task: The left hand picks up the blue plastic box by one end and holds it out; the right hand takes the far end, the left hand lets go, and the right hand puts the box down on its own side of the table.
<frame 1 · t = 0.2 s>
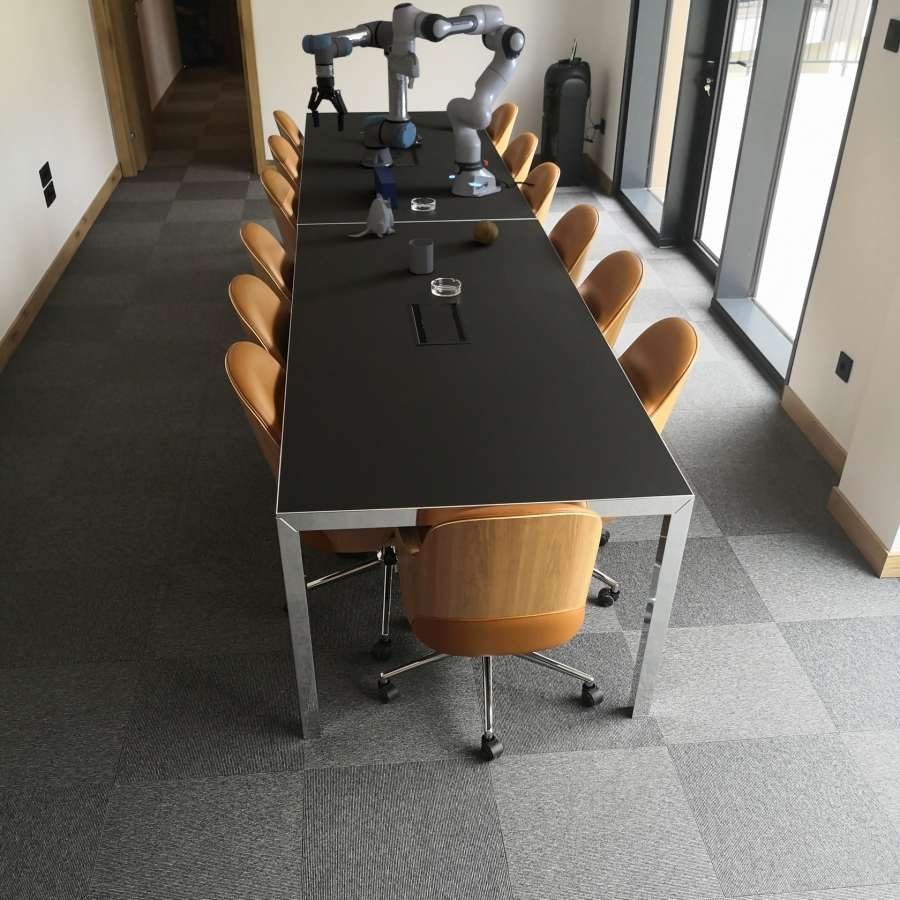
left hand: (328, 129, 373), 28 cm above the table, tool pointing down, fingers open, 13 cm apart
right hand: (405, 86, 350), 47 cm above the table, tool pointing down, fingers open, 8 cm apart
potato: (485, 243, 332), on the table
toy: (371, 237, 337), on the table
scepter: (386, 143, 466), on the table
box: (385, 199, 380), on the table
apple: (461, 130, 491), on the table
cup: (421, 270, 308), on the table
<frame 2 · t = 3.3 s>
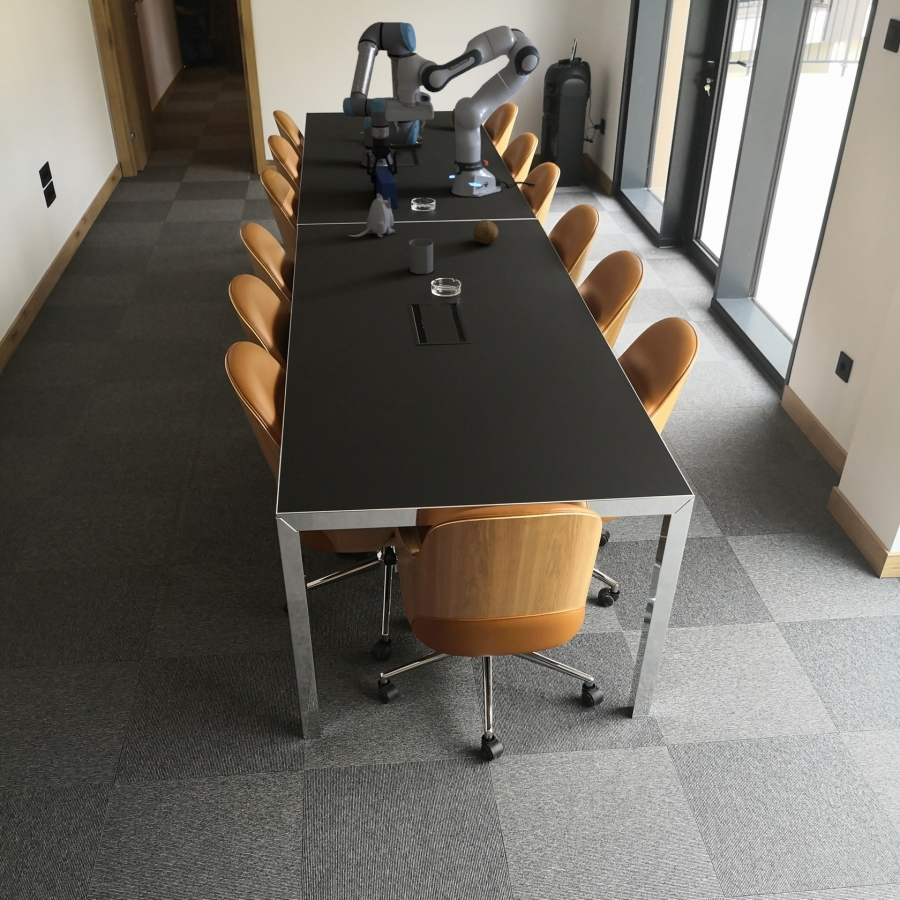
left hand: (382, 189, 388), 1 cm above the table, tool pointing down, fingers closed on box, 6 cm apart
right hand: (409, 131, 361), 29 cm above the table, tool pointing down, fingers open, 8 cm apart
box: (385, 199, 380), on the table, touching left hand
everything else where it was.
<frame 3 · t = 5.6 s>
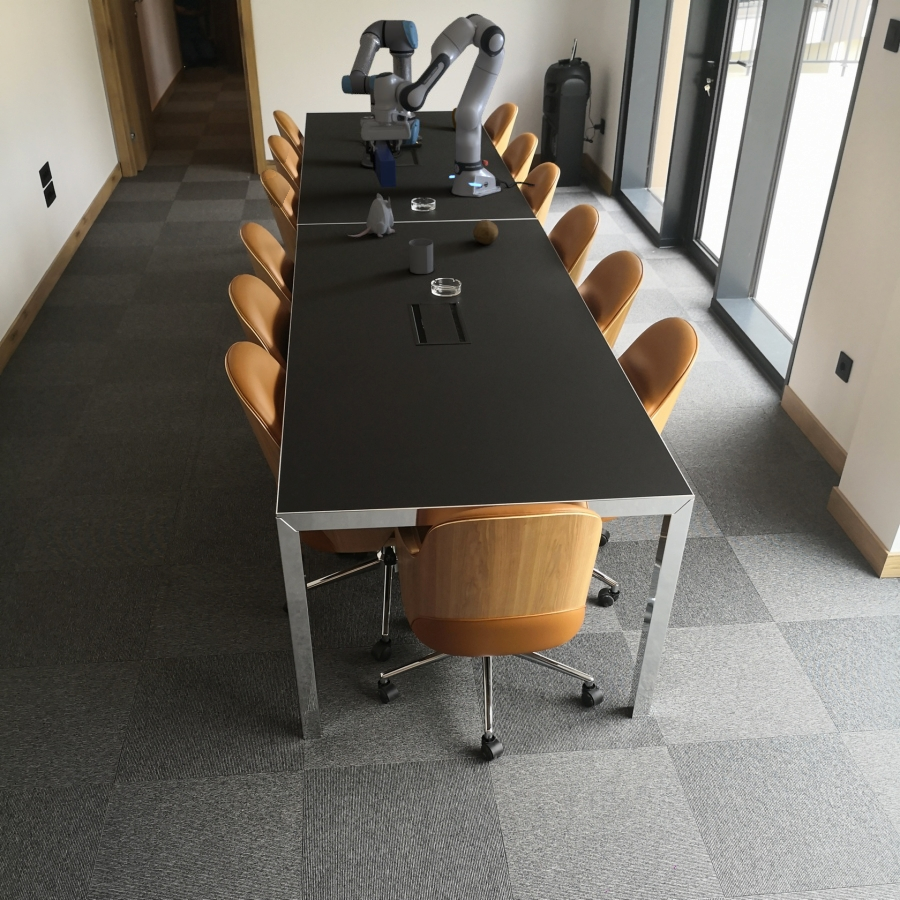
left hand: (381, 169, 383), 10 cm above the table, tool pointing down, fingers closed on box, 6 cm apart
right hand: (386, 150, 359), 23 cm above the table, tool pointing down, fingers open, 8 cm apart
box: (384, 178, 375), point 9 cm above the table, touching left hand
everything else where it was.
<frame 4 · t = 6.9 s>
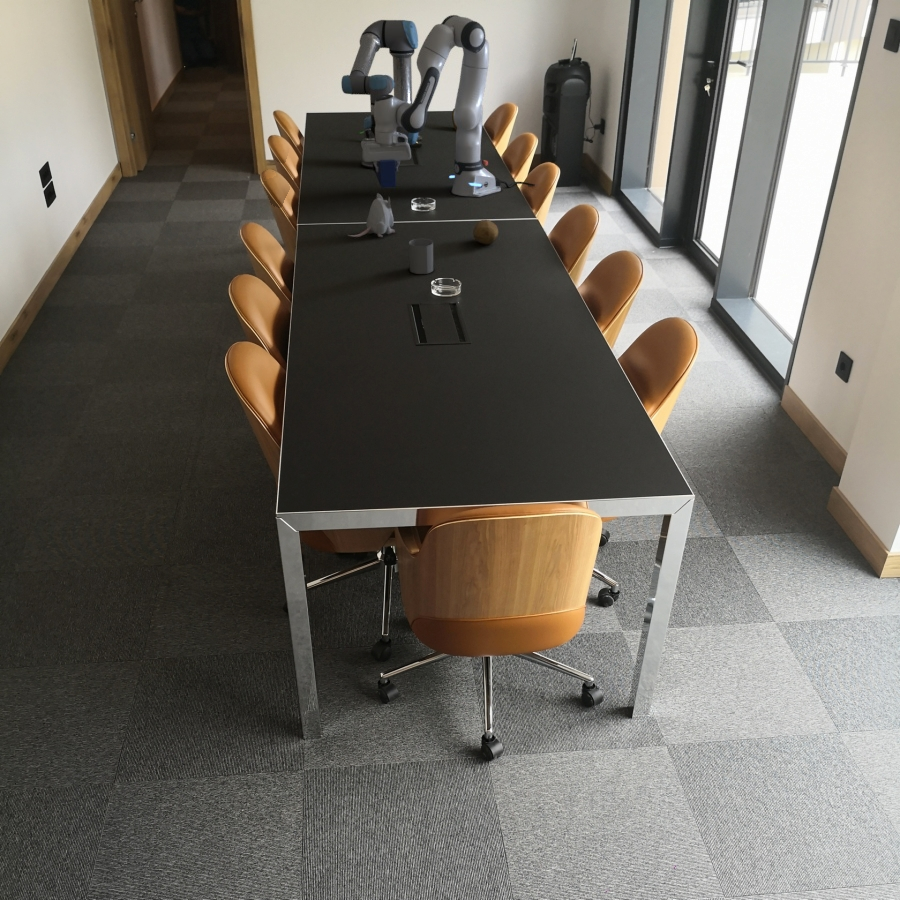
left hand: (381, 169, 383), 10 cm above the table, tool pointing down, fingers closed on box, 6 cm apart
right hand: (387, 171, 364), 15 cm above the table, tool pointing down, fingers closed on box, 6 cm apart
box: (384, 178, 375), point 9 cm above the table, touching left hand, right hand
everything else where it was.
when the left hand's fingers open (10 cm above the table, at t = 7.9 s): box stays where it is, held by the right hand.
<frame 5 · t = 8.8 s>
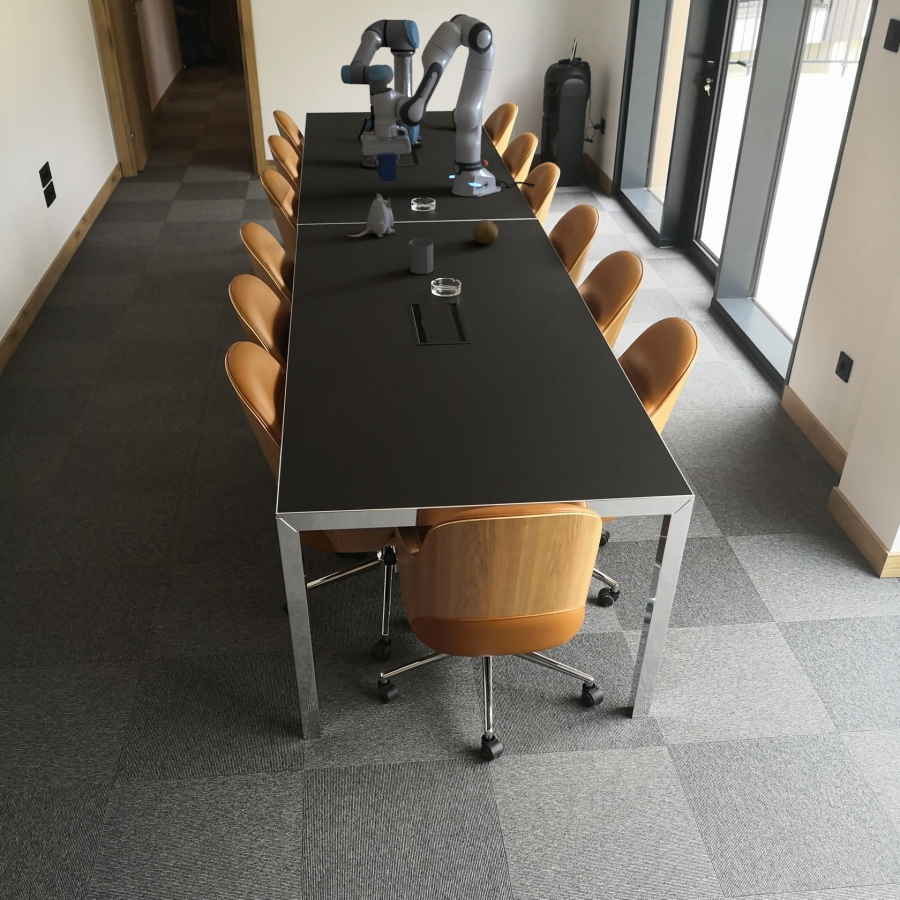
left hand: (381, 155, 382), 16 cm above the table, tool pointing down, fingers open, 13 cm apart
right hand: (387, 165, 362), 17 cm above the table, tool pointing down, fingers closed on box, 6 cm apart
box: (384, 172, 374), point 12 cm above the table, touching right hand
everything else where it was.
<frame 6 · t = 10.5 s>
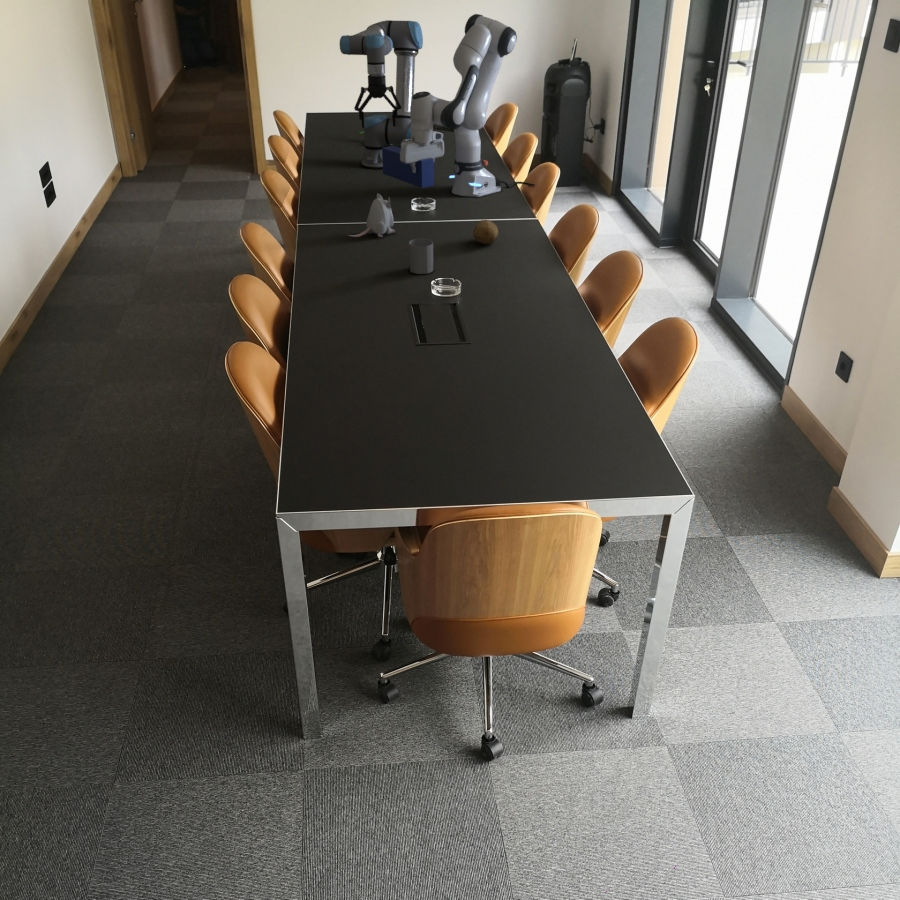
left hand: (378, 126, 379), 27 cm above the table, tool pointing down, fingers open, 13 cm apart
right hand: (422, 171, 354), 18 cm above the table, tool pointing down, fingers closed on box, 6 cm apart
box: (407, 179, 364), point 12 cm above the table, touching right hand
everything else where it was.
when the right hand's fingers open (7 cm above the table, at t = 14.1 s): box drops 1 cm, on the table.
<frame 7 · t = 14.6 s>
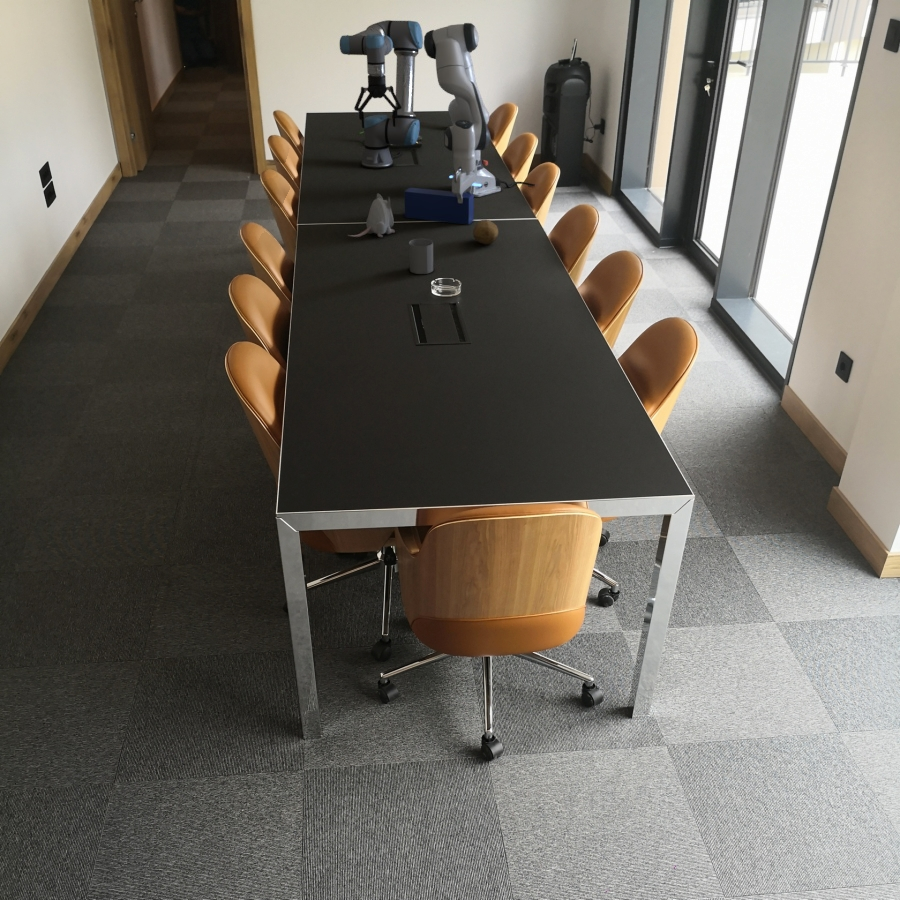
left hand: (378, 126, 379), 27 cm above the table, tool pointing down, fingers open, 13 cm apart
right hand: (464, 199, 350), 9 cm above the table, tool pointing down, fingers open, 8 cm apart
box: (439, 218, 357), on the table
everything else where it was.
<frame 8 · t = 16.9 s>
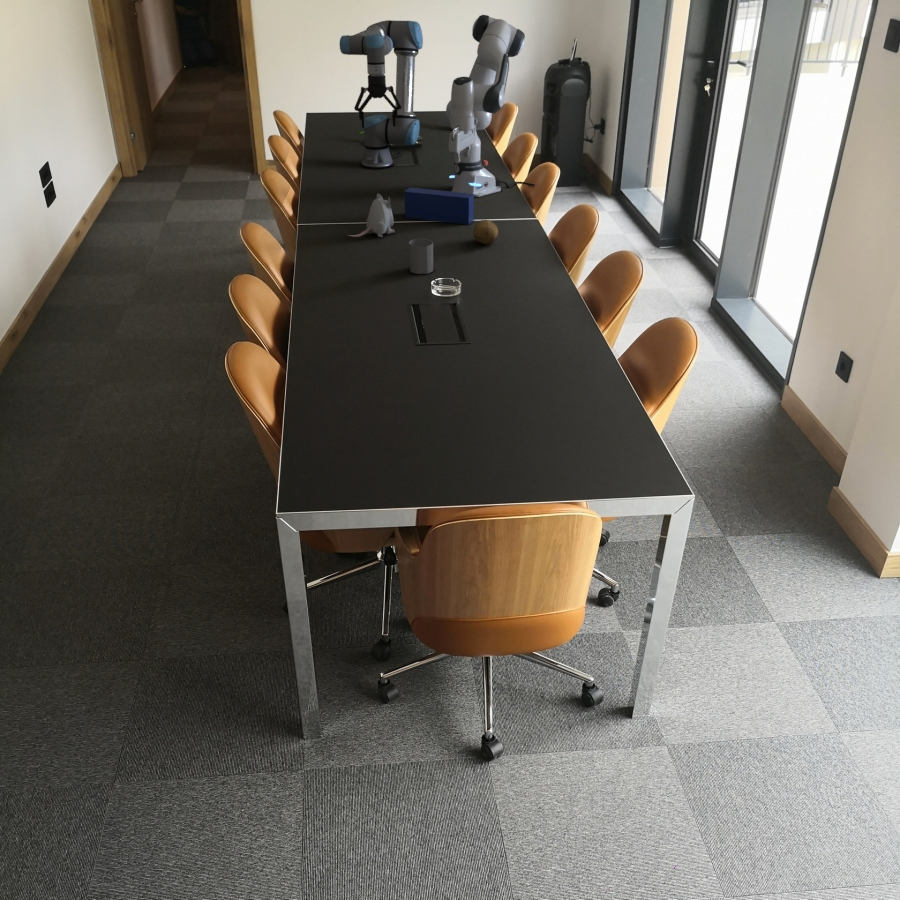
left hand: (378, 126, 379), 27 cm above the table, tool pointing down, fingers open, 13 cm apart
right hand: (461, 159, 341), 25 cm above the table, tool pointing down, fingers open, 8 cm apart
nothing on the table moved.
at the end: box inside the target area (9.7 cm from its centre), on the table; the left hand is holding nothing; the right hand is holding nothing; box at rest at the end (0.0 cm/s) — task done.
